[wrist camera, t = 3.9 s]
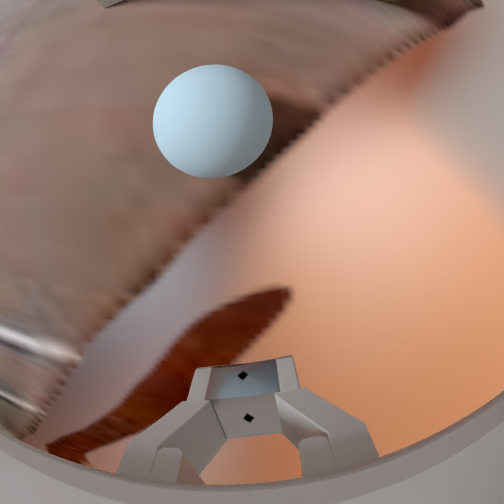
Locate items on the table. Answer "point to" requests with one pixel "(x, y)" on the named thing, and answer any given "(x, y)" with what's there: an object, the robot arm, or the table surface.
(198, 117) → the ball
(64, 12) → the table surface
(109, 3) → the bridge
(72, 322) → the table surface
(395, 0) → the olive tall rounded piece
